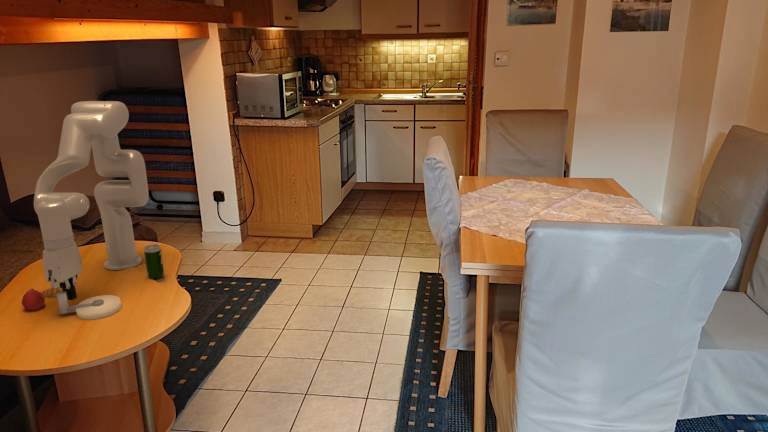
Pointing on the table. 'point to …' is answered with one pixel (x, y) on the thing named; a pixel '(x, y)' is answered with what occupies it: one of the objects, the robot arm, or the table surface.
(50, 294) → the pastry
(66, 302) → the dial
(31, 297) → the onion
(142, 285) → the table surface
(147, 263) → the beer can
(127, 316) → the table surface
